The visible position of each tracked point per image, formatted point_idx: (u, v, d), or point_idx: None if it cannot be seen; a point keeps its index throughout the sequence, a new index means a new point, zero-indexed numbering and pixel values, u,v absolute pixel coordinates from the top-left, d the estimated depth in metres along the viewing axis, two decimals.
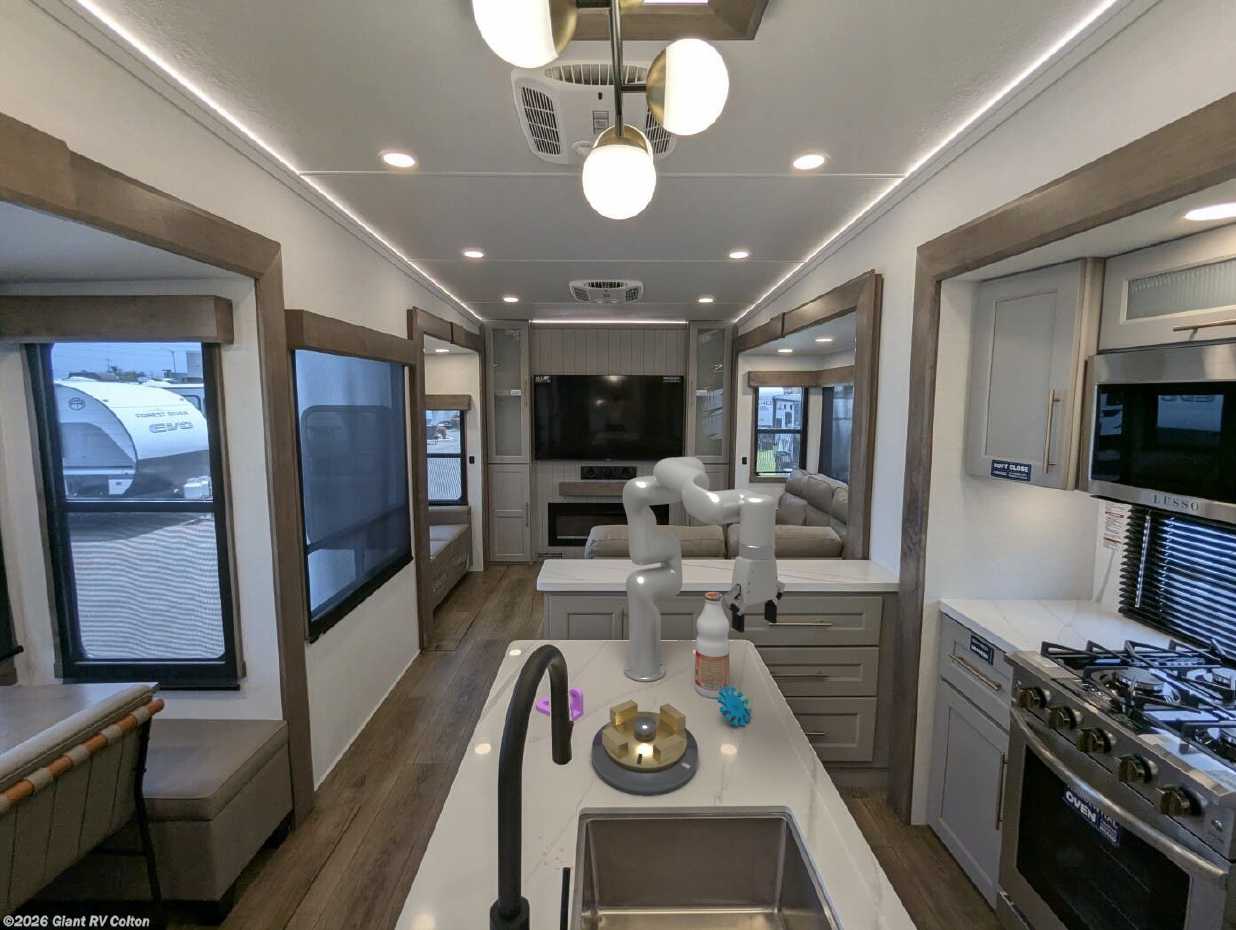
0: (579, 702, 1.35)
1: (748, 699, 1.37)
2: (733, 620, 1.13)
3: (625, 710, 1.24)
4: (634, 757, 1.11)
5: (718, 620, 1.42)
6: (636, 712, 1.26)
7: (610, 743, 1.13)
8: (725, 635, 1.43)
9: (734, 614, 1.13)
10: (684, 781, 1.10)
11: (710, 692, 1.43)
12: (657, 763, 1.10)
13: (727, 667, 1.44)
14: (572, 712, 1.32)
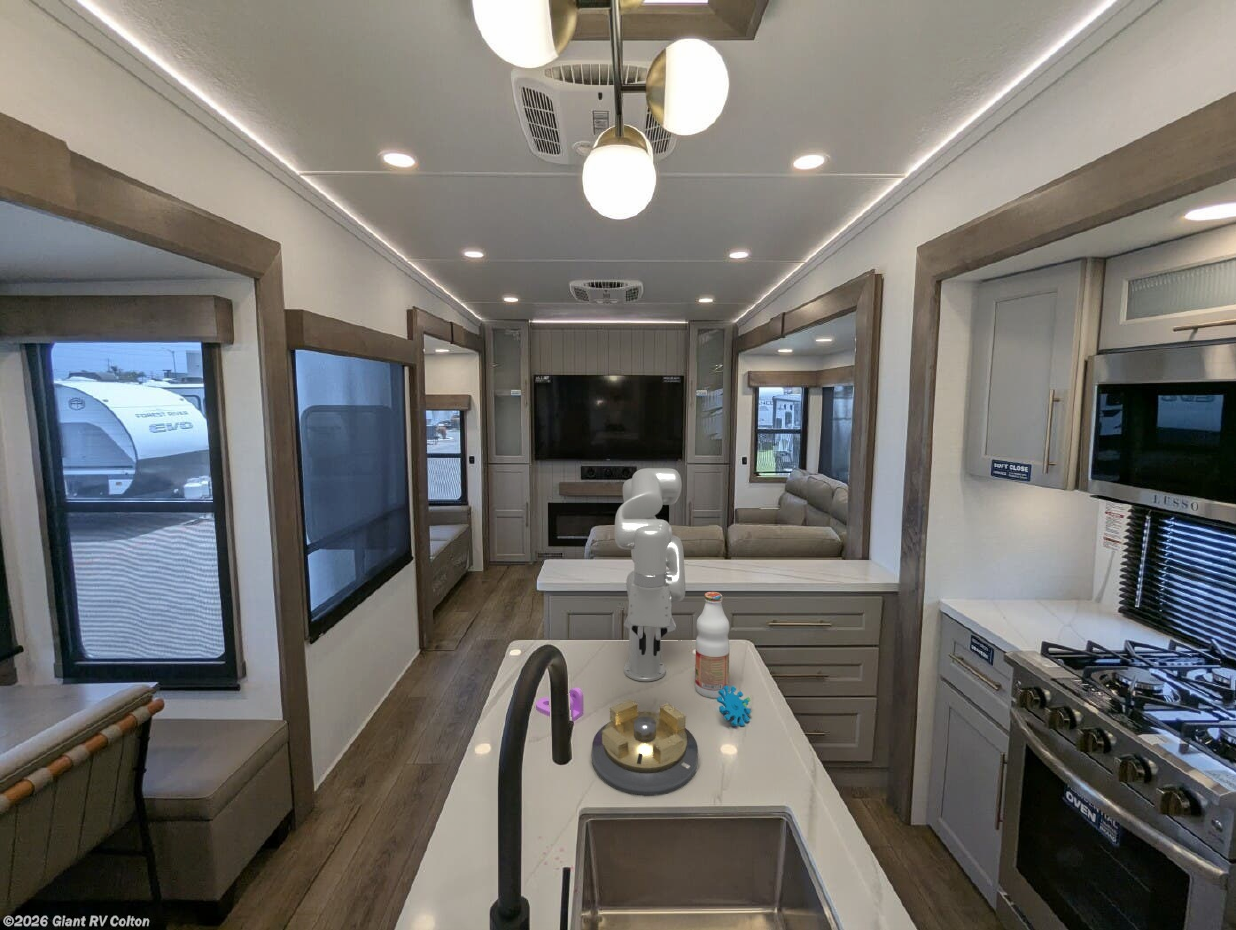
0: (579, 702, 1.35)
1: (748, 699, 1.37)
2: None
3: (625, 710, 1.24)
4: (634, 757, 1.11)
5: (718, 620, 1.42)
6: (636, 712, 1.26)
7: (610, 743, 1.13)
8: (725, 635, 1.43)
9: None
10: (684, 781, 1.10)
11: (710, 692, 1.43)
12: (657, 763, 1.10)
13: (727, 667, 1.44)
14: (572, 712, 1.32)
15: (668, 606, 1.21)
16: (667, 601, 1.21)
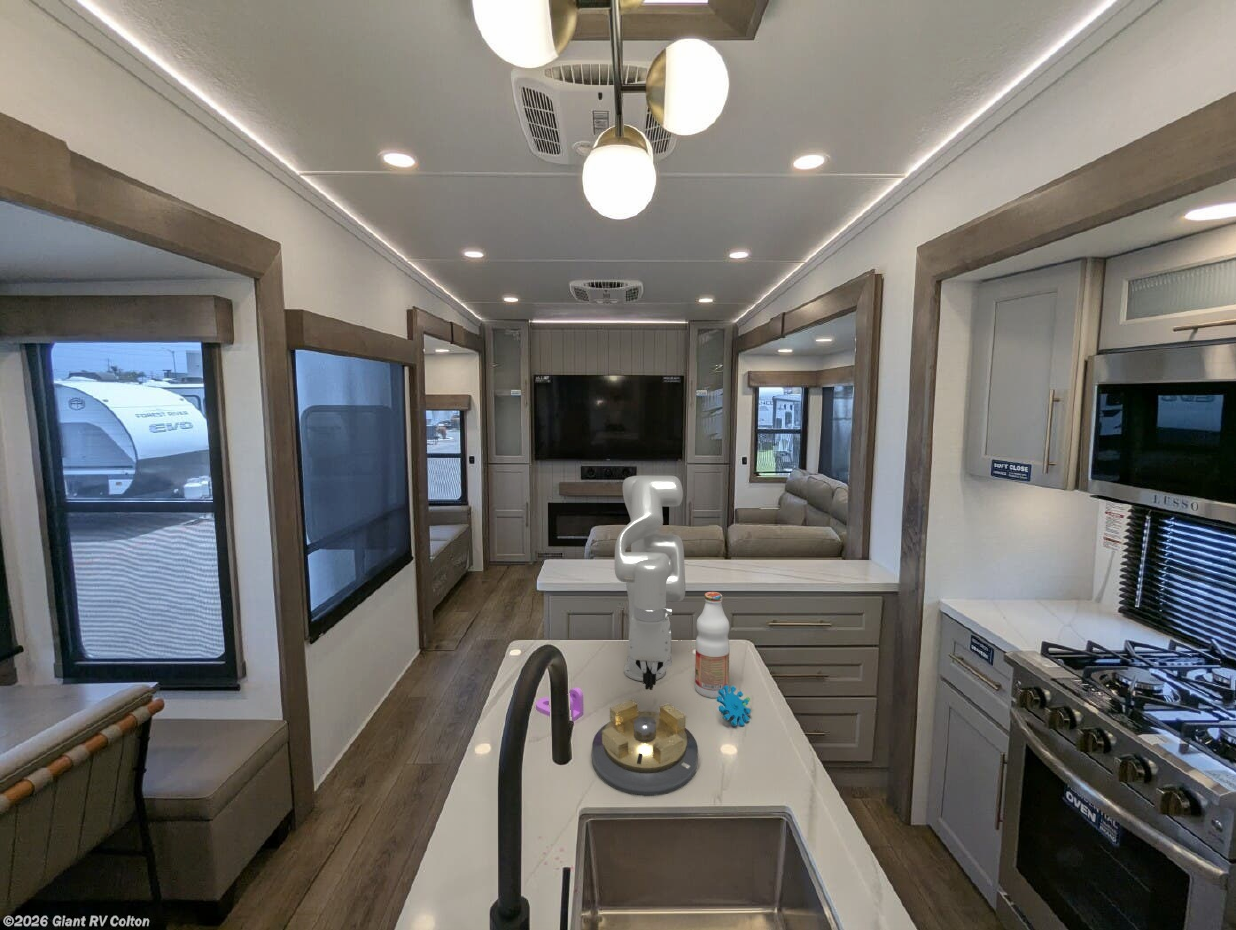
0: (579, 702, 1.35)
1: (748, 699, 1.37)
2: None
3: (625, 710, 1.24)
4: (634, 757, 1.11)
5: (718, 620, 1.42)
6: (636, 712, 1.26)
7: (610, 743, 1.13)
8: (725, 635, 1.43)
9: None
10: (684, 781, 1.10)
11: (710, 692, 1.43)
12: (657, 763, 1.10)
13: (727, 667, 1.44)
14: (572, 712, 1.32)
15: (668, 640, 1.22)
16: (667, 635, 1.22)
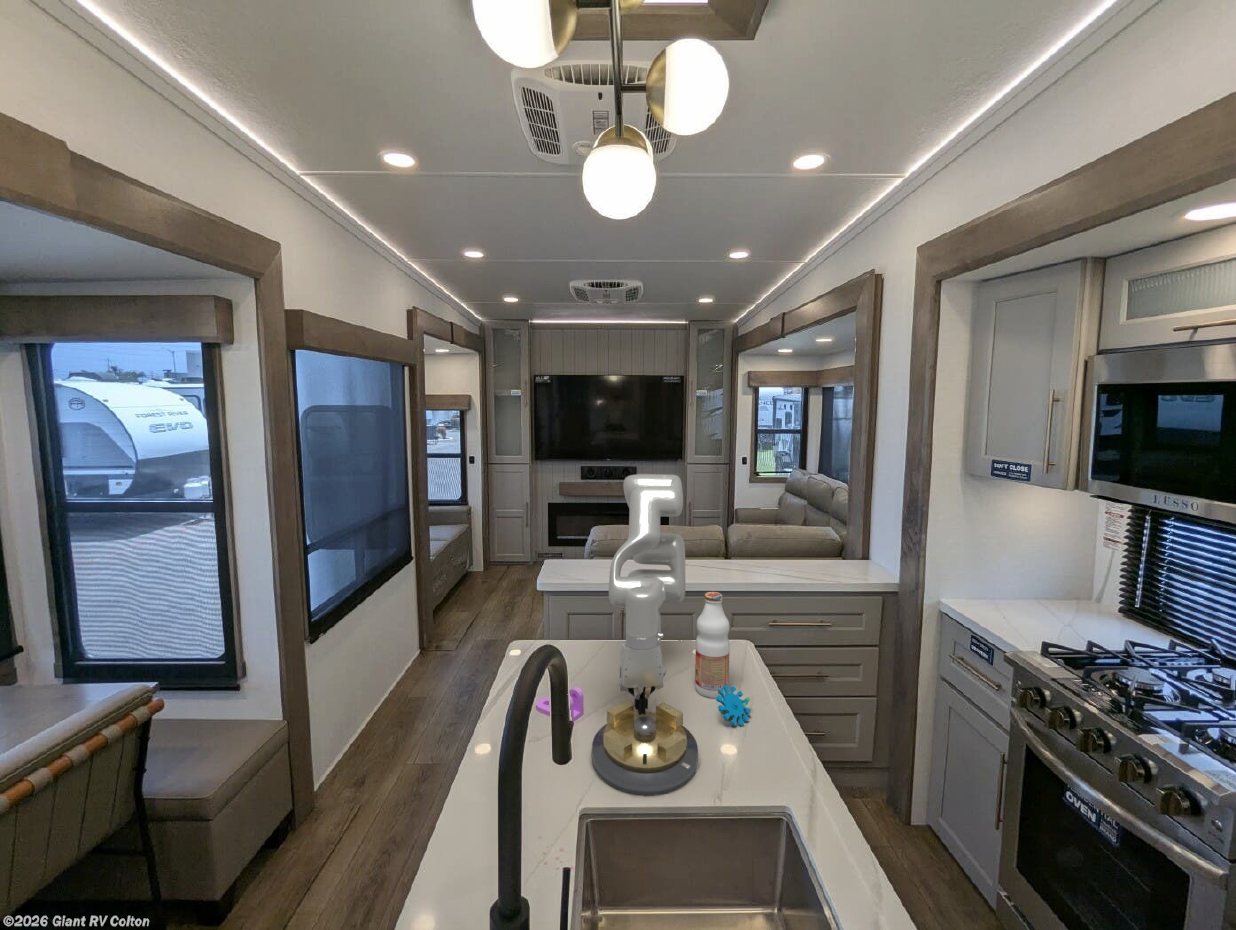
0: (579, 702, 1.35)
1: (748, 699, 1.37)
2: None
3: (622, 711, 1.23)
4: (639, 758, 1.11)
5: (718, 620, 1.42)
6: (632, 713, 1.26)
7: (613, 746, 1.12)
8: (725, 635, 1.43)
9: None
10: (684, 781, 1.10)
11: (710, 692, 1.43)
12: (662, 762, 1.10)
13: (727, 667, 1.44)
14: (572, 712, 1.32)
15: (661, 664, 1.24)
16: (660, 660, 1.24)
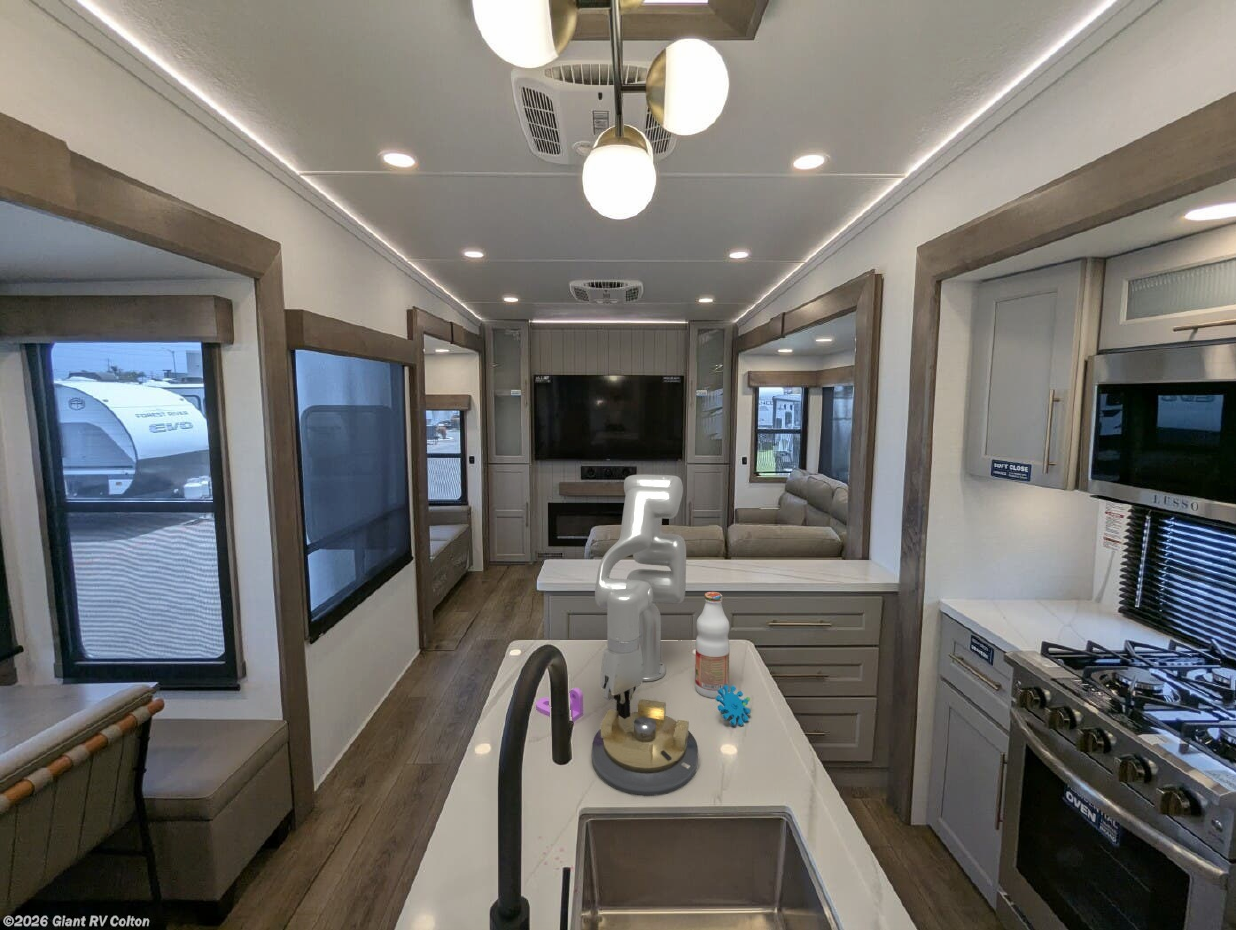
0: (579, 703, 1.35)
1: (748, 699, 1.37)
2: (617, 707, 1.24)
3: (614, 720, 1.20)
4: (660, 757, 1.11)
5: (718, 620, 1.42)
6: (618, 719, 1.23)
7: (636, 754, 1.09)
8: (725, 635, 1.43)
9: (618, 702, 1.24)
10: (684, 781, 1.10)
11: (710, 692, 1.43)
12: (681, 752, 1.13)
13: (727, 667, 1.44)
14: (571, 713, 1.32)
15: (642, 662, 1.25)
16: (642, 658, 1.25)
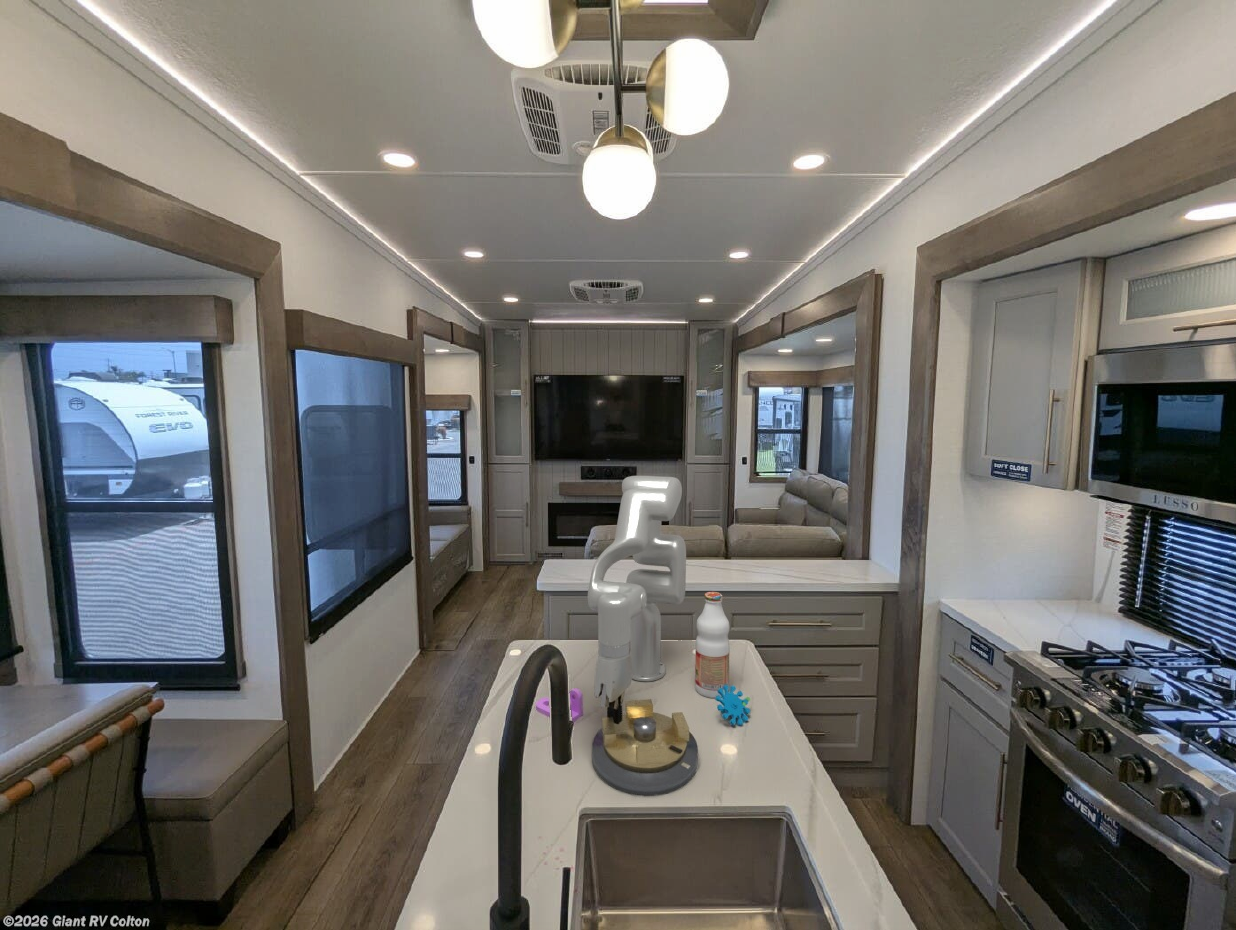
0: (578, 703, 1.34)
1: (748, 699, 1.37)
2: (609, 714, 1.22)
3: (614, 727, 1.17)
4: (671, 752, 1.13)
5: (718, 620, 1.42)
6: None
7: (653, 755, 1.09)
8: (725, 635, 1.43)
9: (610, 709, 1.21)
10: (684, 781, 1.10)
11: (710, 692, 1.43)
12: (686, 742, 1.16)
13: (727, 667, 1.44)
14: (571, 713, 1.32)
15: None
16: (630, 659, 1.24)
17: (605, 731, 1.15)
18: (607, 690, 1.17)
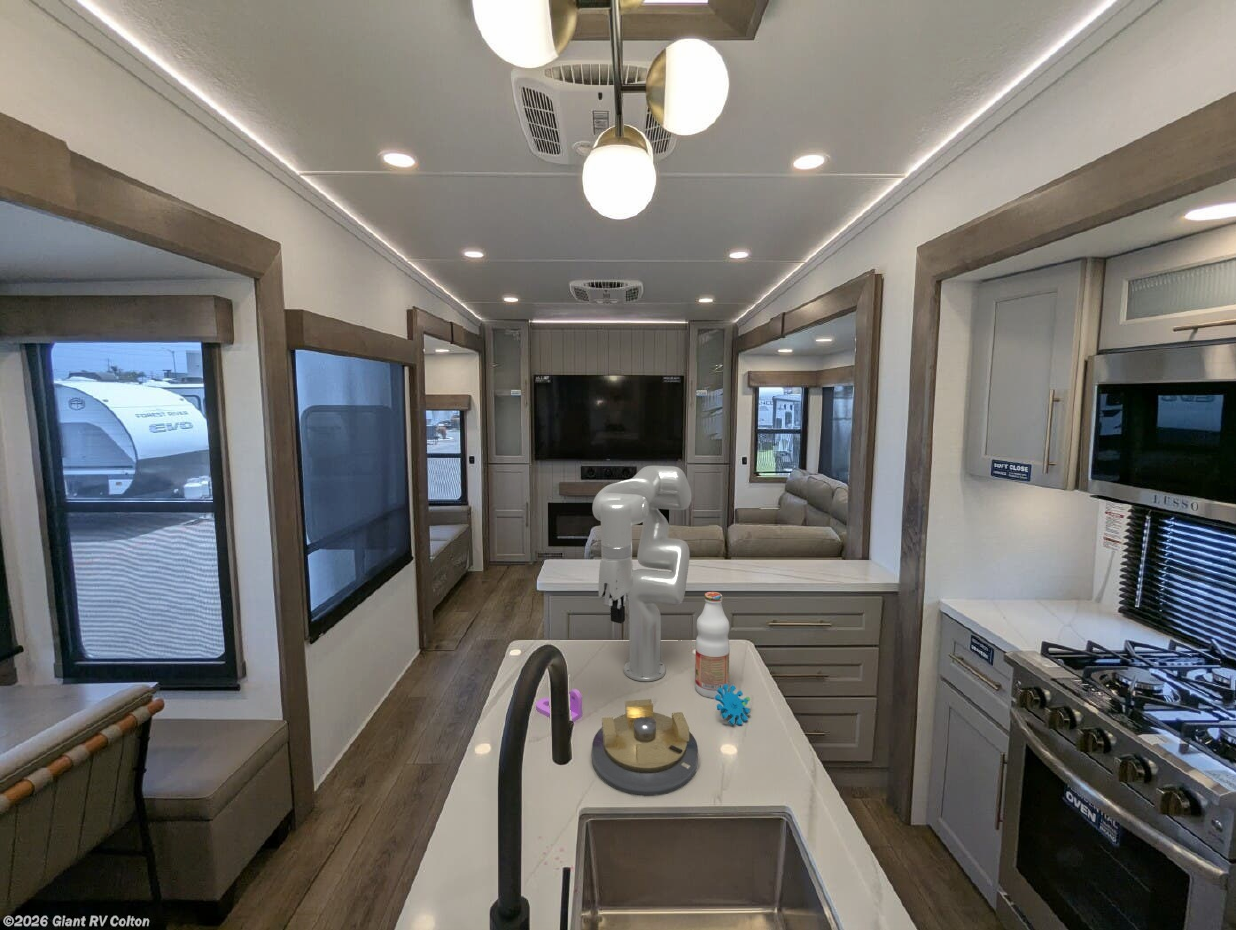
0: (577, 704, 1.34)
1: (748, 698, 1.37)
2: (613, 614, 1.29)
3: (614, 727, 1.17)
4: (671, 752, 1.13)
5: (718, 620, 1.42)
6: None
7: (653, 755, 1.09)
8: (725, 635, 1.43)
9: (614, 609, 1.29)
10: (684, 781, 1.10)
11: (710, 692, 1.43)
12: (686, 742, 1.16)
13: (727, 667, 1.44)
14: None
15: (632, 568, 1.32)
16: (632, 564, 1.31)
17: (605, 731, 1.15)
18: (610, 589, 1.24)
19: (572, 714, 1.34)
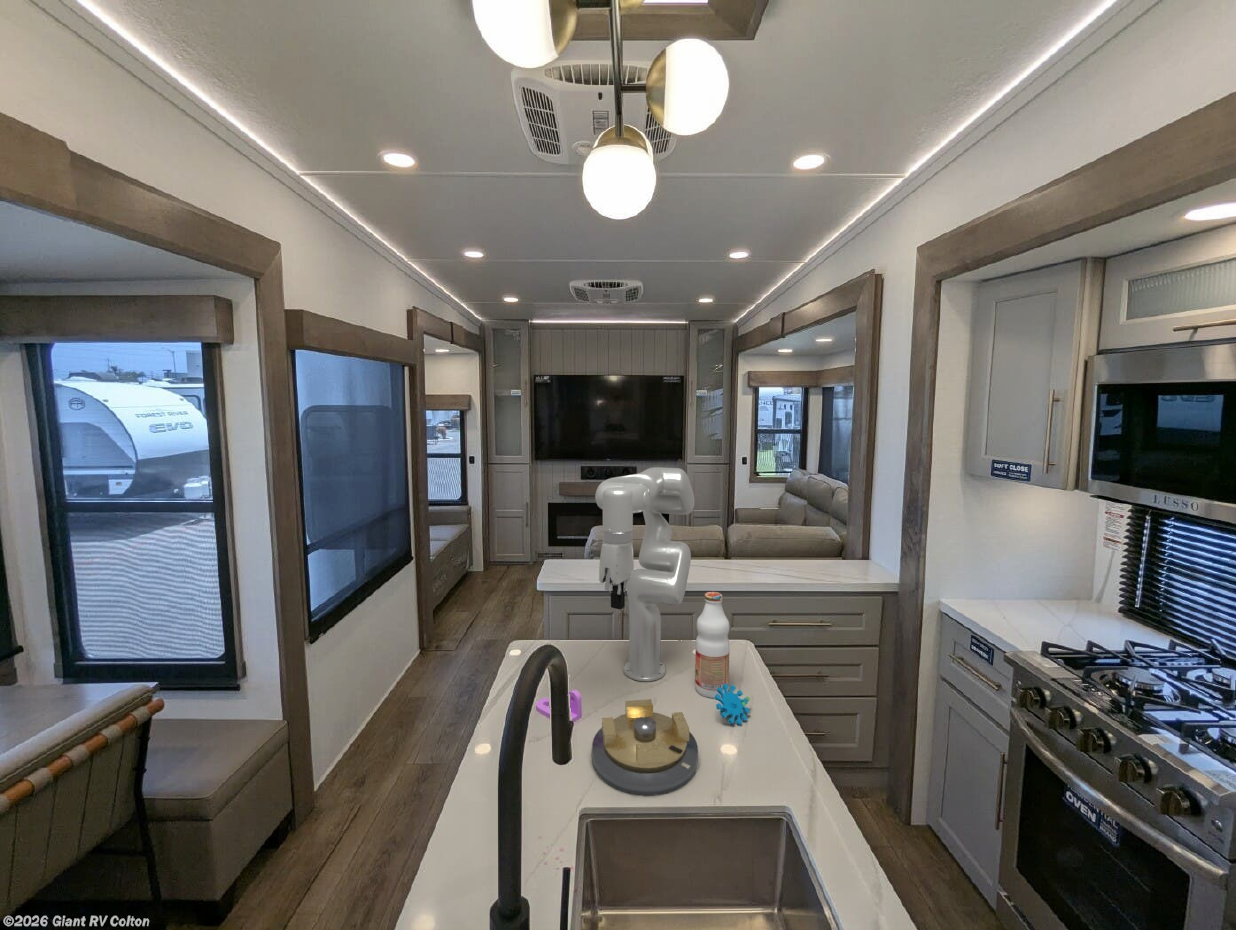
0: (577, 705, 1.33)
1: (747, 698, 1.37)
2: (613, 600, 1.31)
3: (614, 727, 1.17)
4: (671, 752, 1.13)
5: (718, 620, 1.42)
6: None
7: (653, 755, 1.09)
8: (725, 635, 1.43)
9: (614, 594, 1.31)
10: (684, 781, 1.10)
11: (710, 692, 1.43)
12: (686, 742, 1.16)
13: (727, 667, 1.44)
14: None
15: None
16: (632, 551, 1.34)
17: (605, 731, 1.15)
18: (611, 573, 1.26)
19: (571, 715, 1.34)
